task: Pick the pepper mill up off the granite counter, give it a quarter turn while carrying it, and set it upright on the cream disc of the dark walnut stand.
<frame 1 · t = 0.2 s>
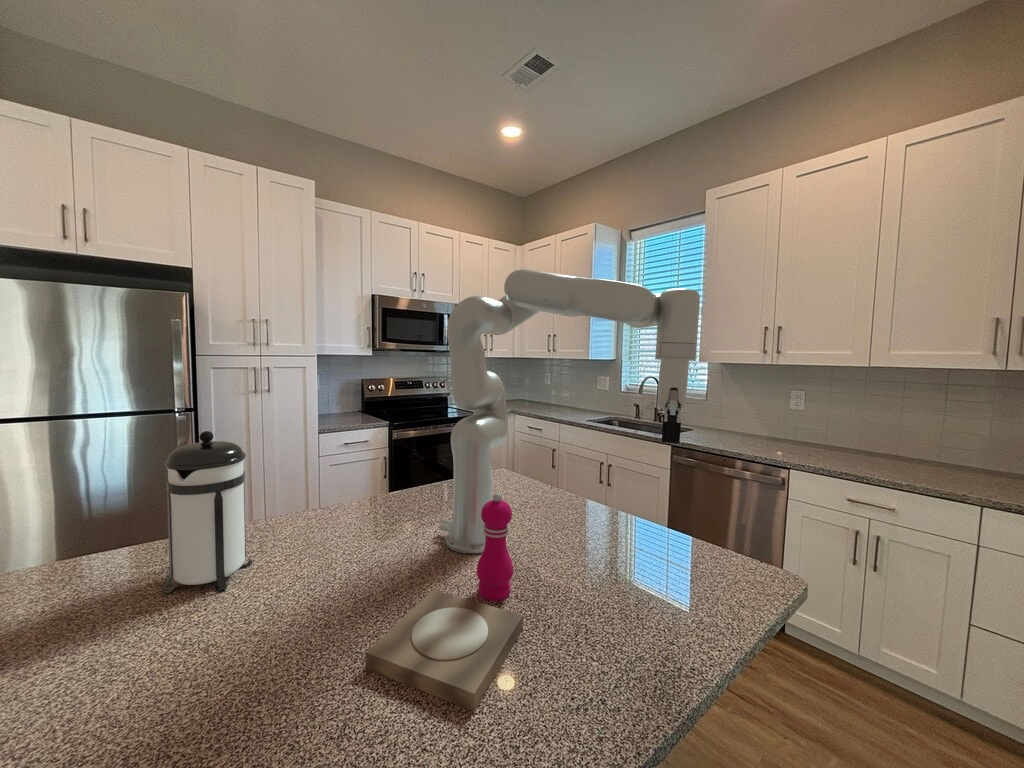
hand: (670, 437, 84), 31 cm above the countertop, tool pointing down, fingers open, 9 cm apart
walnut stand: (449, 647, 66), on the countertop
coffee press: (211, 575, 85), on the countertop
pepper mill: (494, 592, 82), on the countertop
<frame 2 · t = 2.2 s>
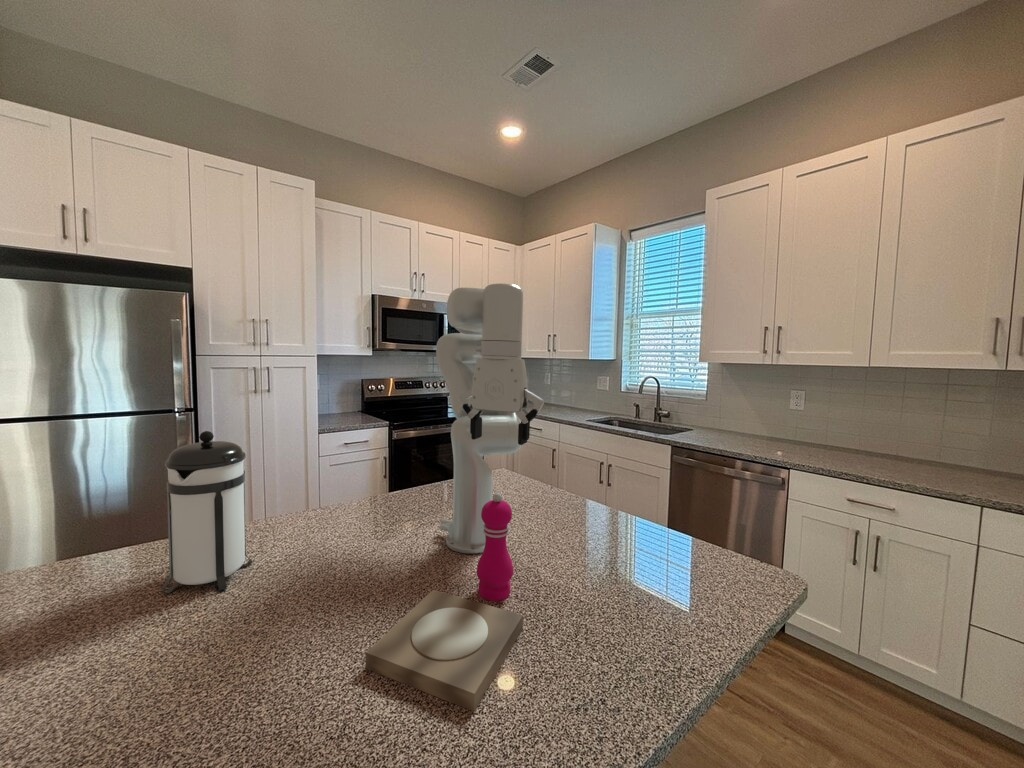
hand: (499, 440, 79), 30 cm above the countertop, tool pointing down, fingers open, 9 cm apart
nothing on the countertop moved.
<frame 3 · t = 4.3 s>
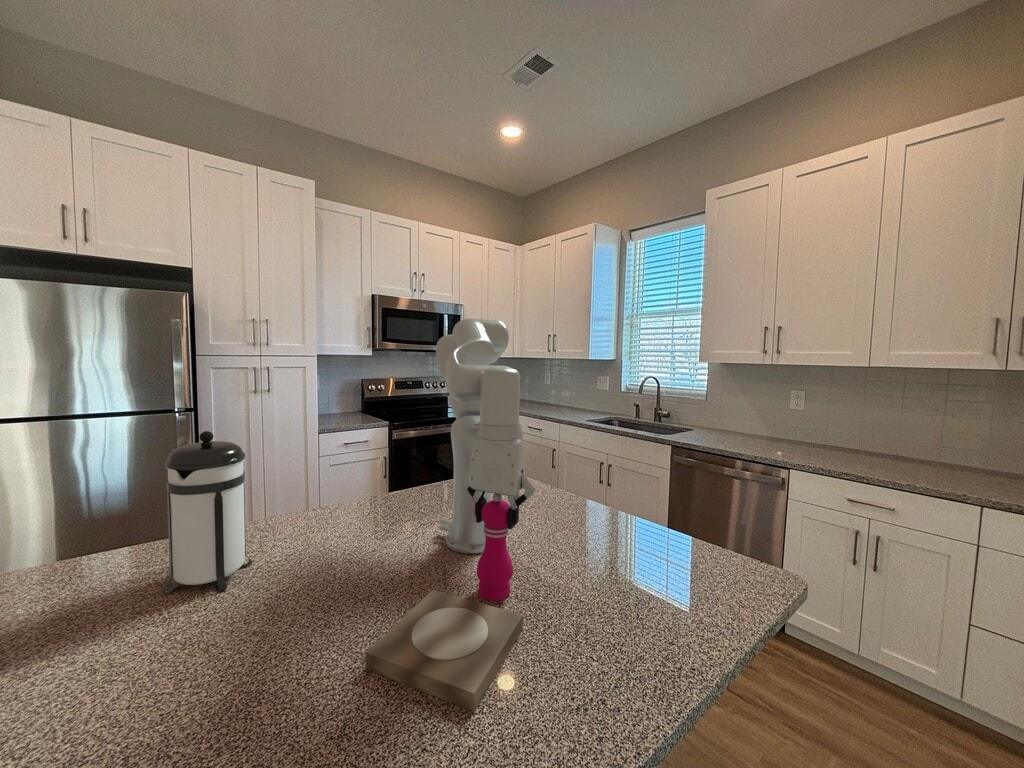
hand: (496, 522, 81), 14 cm above the countertop, tool pointing down, fingers closed on pepper mill, 5 cm apart
pepper mill: (494, 592, 82), on the countertop, touching gripper
everything else where it was.
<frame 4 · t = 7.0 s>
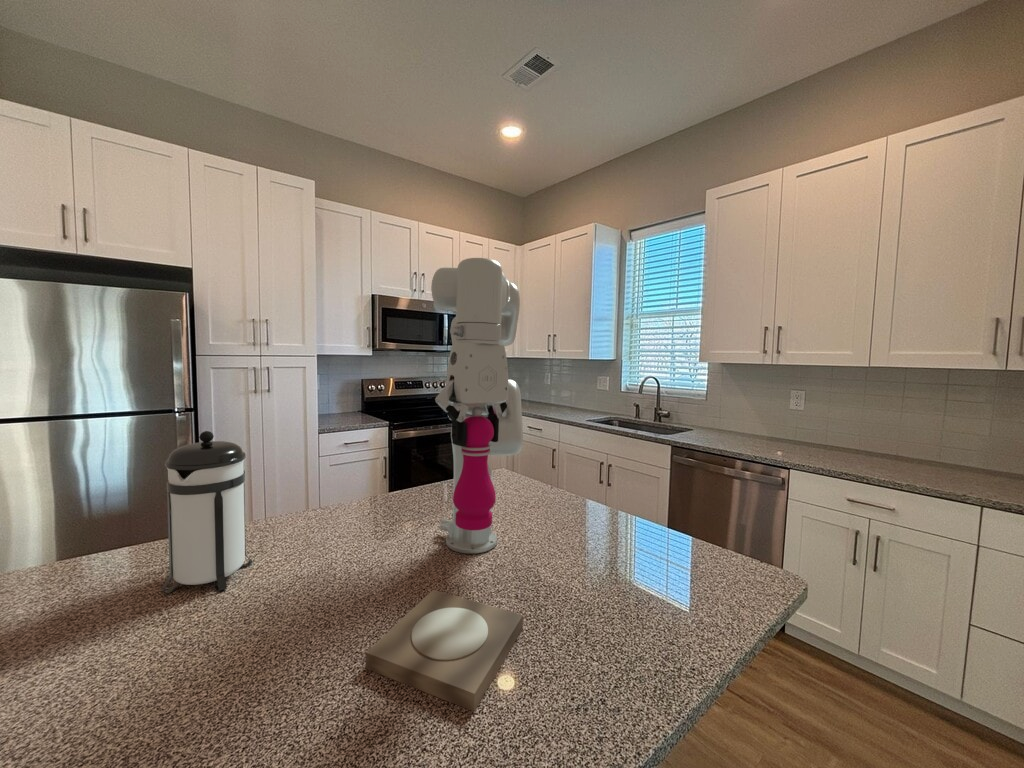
hand: (475, 441, 70), 32 cm above the countertop, tool pointing down, fingers closed on pepper mill, 5 cm apart
pepper mill: (473, 524, 71), point 18 cm above the countertop, touching gripper
everything else where it was.
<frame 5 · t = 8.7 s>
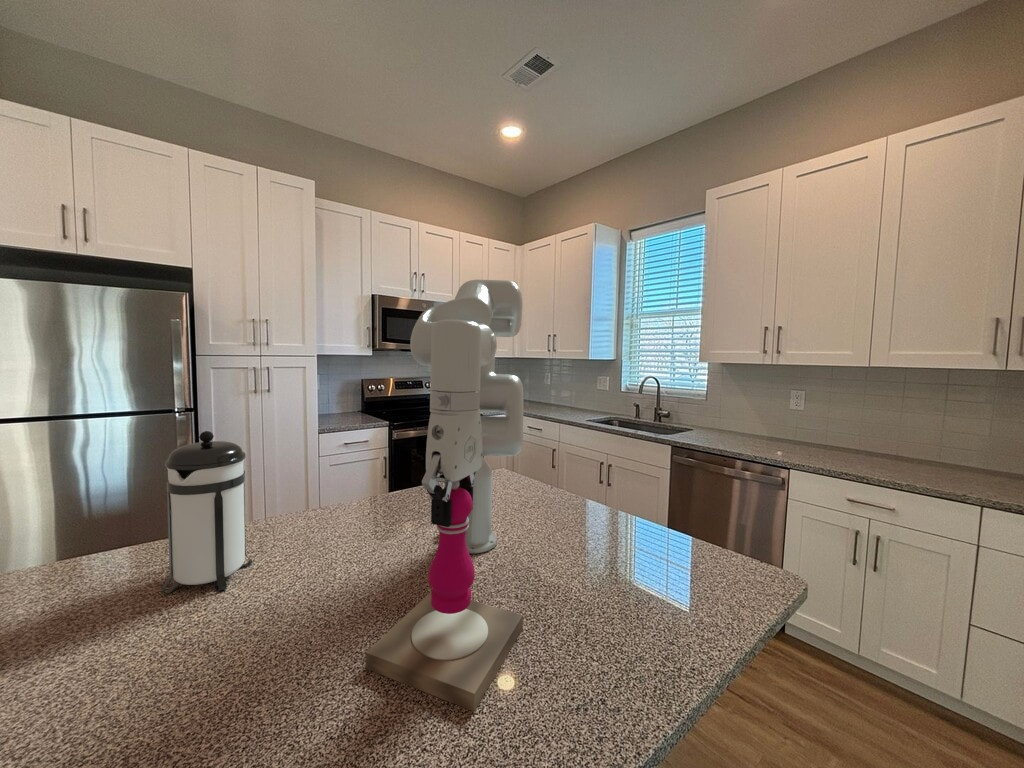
hand: (452, 515, 65), 22 cm above the countertop, tool pointing down, fingers closed on pepper mill, 5 cm apart
pepper mill: (451, 603, 66), point 7 cm above the countertop, touching gripper
everything else where it was.
when the fingers open (18 cm above the countertop, at t = 9.9 s): pepper mill stays where it is, resting on walnut stand.
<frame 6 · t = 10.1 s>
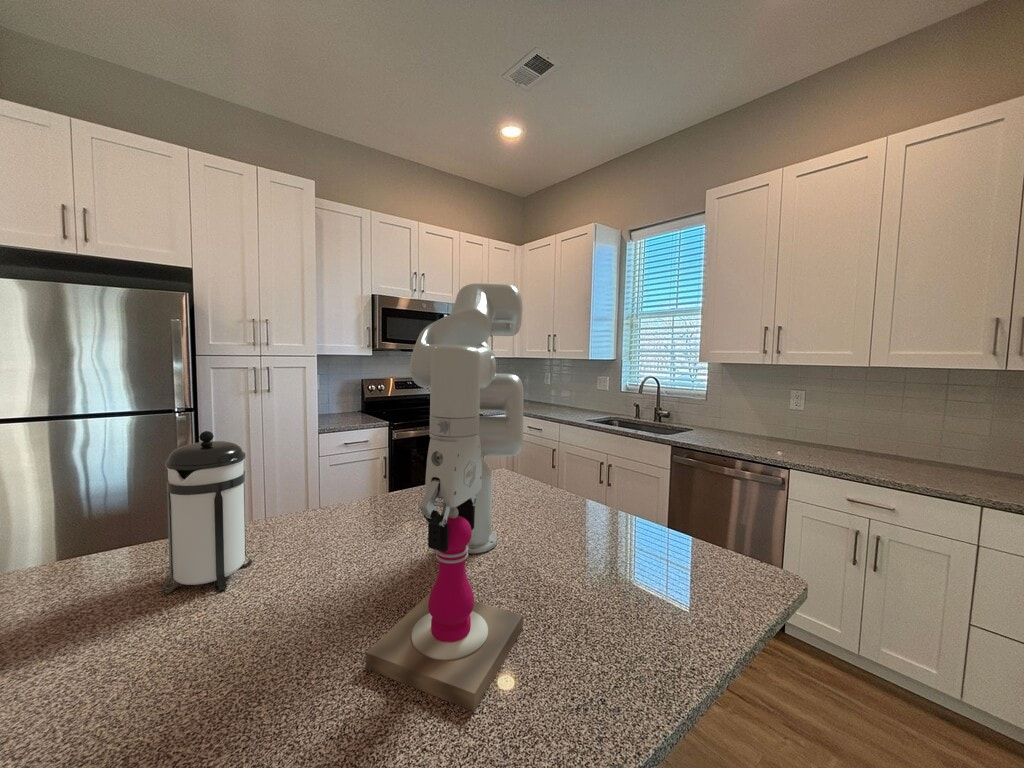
hand: (452, 537, 65), 18 cm above the countertop, tool pointing down, fingers open, 7 cm apart
pepper mill: (450, 630, 66), point 3 cm above the countertop, touching walnut stand
everything else where it was.
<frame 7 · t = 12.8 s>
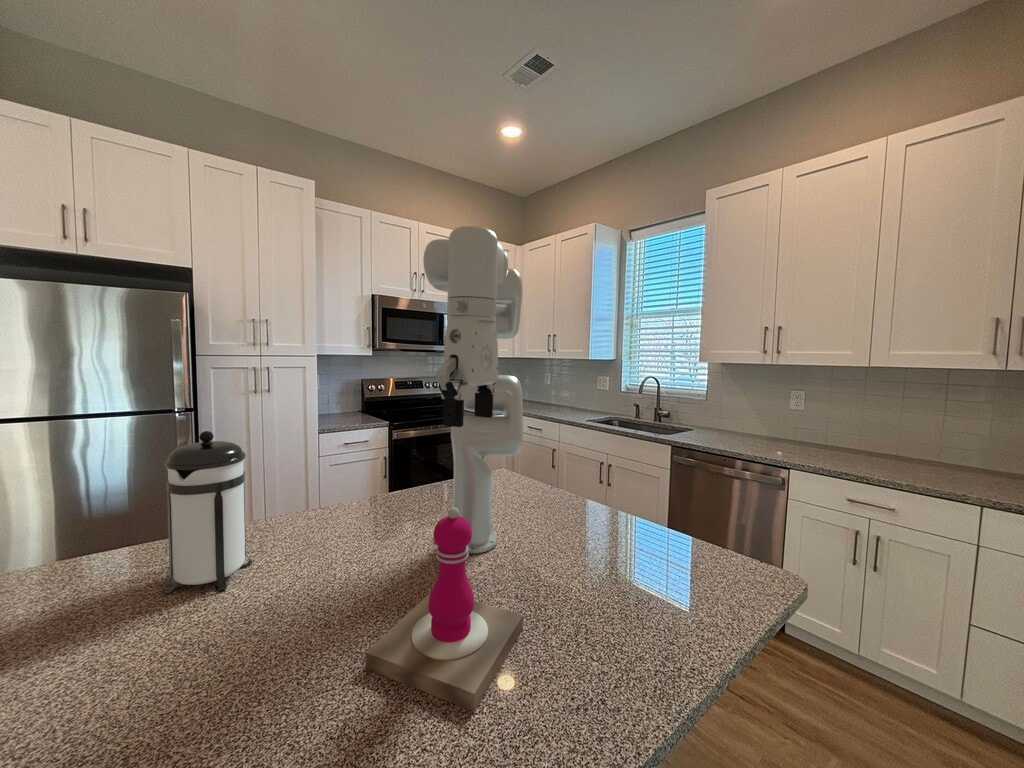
hand: (469, 421, 66), 36 cm above the countertop, tool pointing down, fingers open, 9 cm apart
nothing on the countertop moved.
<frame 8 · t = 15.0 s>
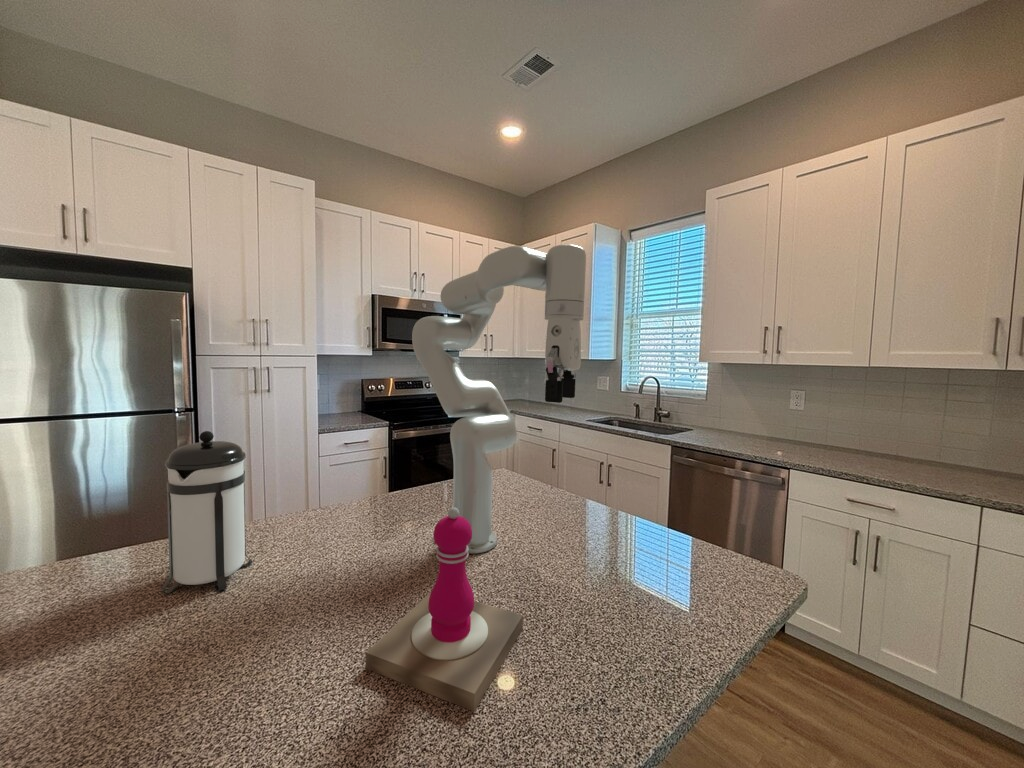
hand: (560, 399, 82), 38 cm above the countertop, tool pointing down, fingers open, 9 cm apart
nothing on the countertop moved.
at the end: pepper mill inside the target area on the walnut stand (0.3 cm from its centre), point 2.6 cm above the walnut stand's base; pepper mill tilted 0°; the gripper is holding nothing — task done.
